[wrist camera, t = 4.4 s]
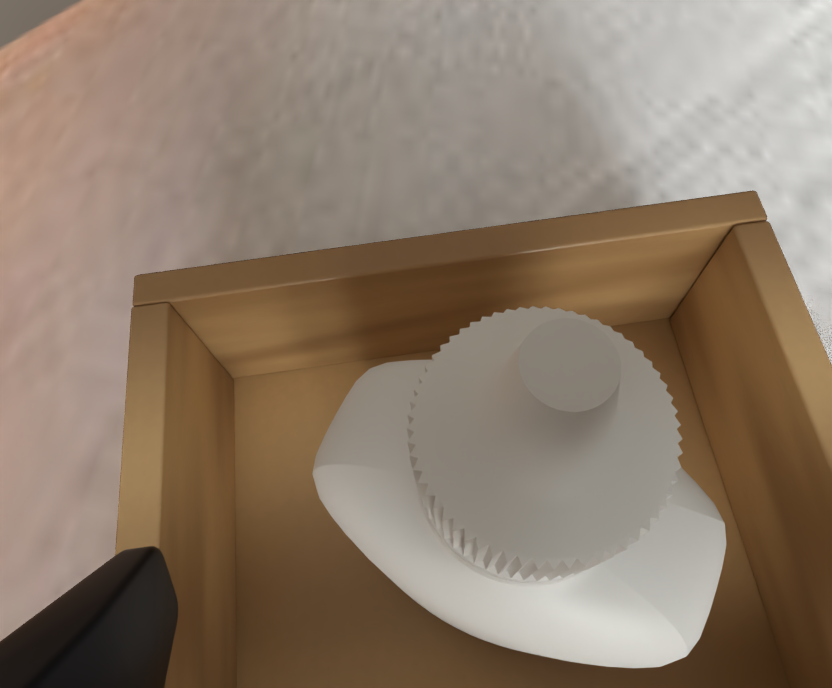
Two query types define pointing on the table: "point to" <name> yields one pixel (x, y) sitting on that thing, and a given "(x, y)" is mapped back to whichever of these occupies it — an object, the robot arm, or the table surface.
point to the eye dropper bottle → (530, 491)
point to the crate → (418, 340)
